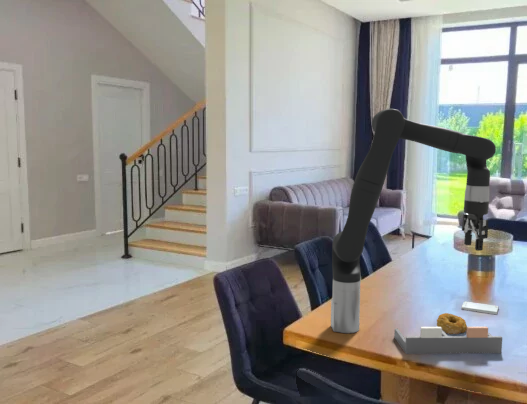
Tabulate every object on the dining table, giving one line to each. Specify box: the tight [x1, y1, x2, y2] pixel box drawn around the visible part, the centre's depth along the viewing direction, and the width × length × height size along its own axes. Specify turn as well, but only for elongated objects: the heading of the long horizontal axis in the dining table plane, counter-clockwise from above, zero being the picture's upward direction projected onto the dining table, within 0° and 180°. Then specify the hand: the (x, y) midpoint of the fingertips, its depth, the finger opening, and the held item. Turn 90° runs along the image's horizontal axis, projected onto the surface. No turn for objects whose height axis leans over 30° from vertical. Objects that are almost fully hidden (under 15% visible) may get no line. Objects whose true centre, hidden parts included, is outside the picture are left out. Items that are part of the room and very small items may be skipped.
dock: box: [393, 326, 503, 355], centre depth 163 cm, size 29×13×8 cm, turn 91°
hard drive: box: [460, 300, 500, 315], centre depth 198 cm, size 2×8×12 cm
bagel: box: [436, 312, 468, 336], centre depth 177 cm, size 10×11×5 cm
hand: (473, 247), depth 174 cm, fingers open, 8 cm apart
